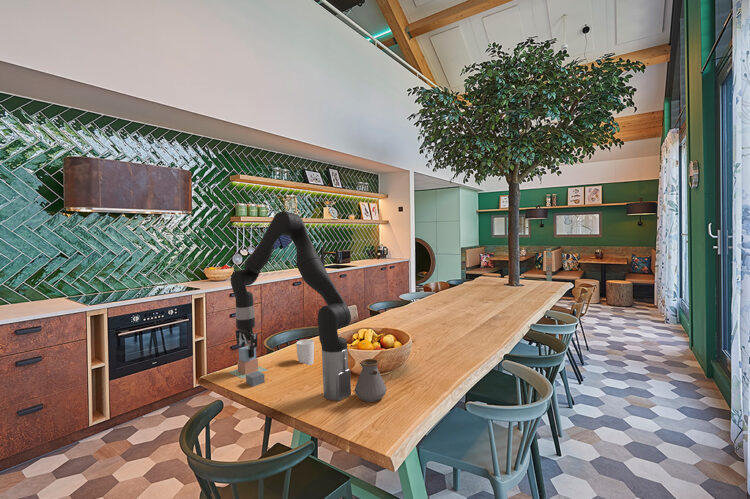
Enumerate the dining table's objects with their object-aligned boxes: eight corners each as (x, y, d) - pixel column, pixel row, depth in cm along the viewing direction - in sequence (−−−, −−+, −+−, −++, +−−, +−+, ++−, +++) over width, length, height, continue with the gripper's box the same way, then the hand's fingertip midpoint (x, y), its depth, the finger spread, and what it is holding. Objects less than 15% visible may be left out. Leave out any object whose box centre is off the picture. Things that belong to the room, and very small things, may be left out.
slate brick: (264, 386, 143) (264, 373, 143) (253, 390, 140) (252, 378, 139) (257, 383, 147) (257, 371, 147) (246, 387, 143) (245, 374, 143)
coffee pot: (353, 392, 136) (351, 352, 135) (383, 388, 137) (382, 349, 137) (359, 421, 115) (358, 374, 114) (395, 417, 116) (394, 370, 116)
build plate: (268, 373, 157) (268, 369, 157) (242, 382, 148) (242, 378, 148) (253, 367, 165) (253, 363, 165) (227, 375, 156) (227, 372, 155)
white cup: (293, 365, 165) (292, 343, 165) (304, 359, 172) (303, 338, 172) (307, 367, 162) (306, 345, 161) (318, 361, 169) (317, 340, 168)
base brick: (258, 370, 156) (257, 358, 156) (245, 374, 152) (244, 362, 152) (250, 367, 160) (250, 356, 160) (237, 371, 156) (237, 359, 156)
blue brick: (256, 358, 156) (255, 347, 156) (245, 362, 152) (244, 350, 152) (249, 356, 159) (249, 345, 159) (239, 359, 156) (238, 348, 155)
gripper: (262, 317, 153) (264, 356, 154) (244, 313, 162) (246, 350, 163) (246, 320, 147) (248, 362, 148) (228, 316, 157) (230, 355, 158)
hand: (247, 355), depth 156 cm, fingers open, 6 cm apart
